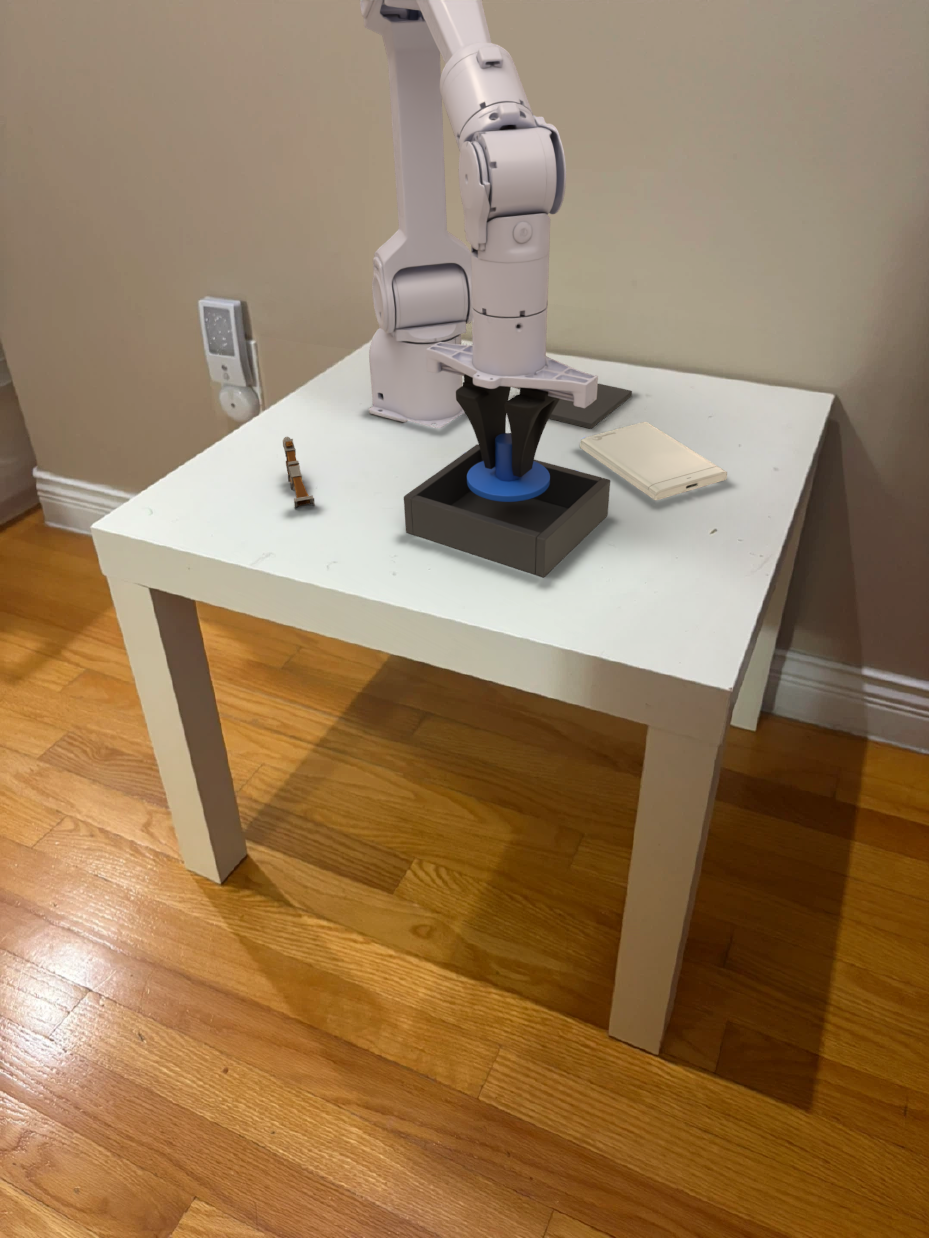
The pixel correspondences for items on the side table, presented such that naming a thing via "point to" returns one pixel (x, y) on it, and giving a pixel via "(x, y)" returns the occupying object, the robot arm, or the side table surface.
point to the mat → (591, 407)
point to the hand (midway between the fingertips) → (508, 467)
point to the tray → (508, 516)
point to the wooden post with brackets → (295, 474)
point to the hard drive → (652, 460)
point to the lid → (507, 476)
